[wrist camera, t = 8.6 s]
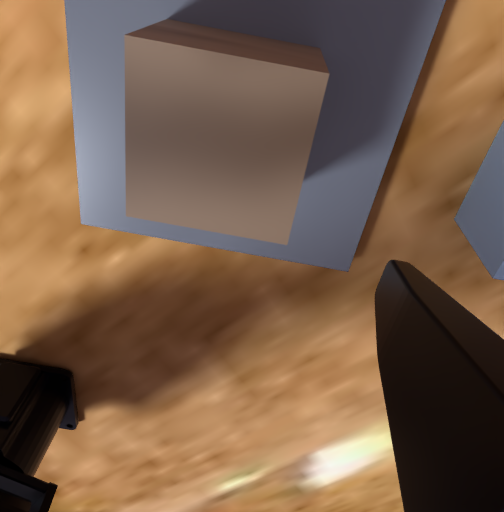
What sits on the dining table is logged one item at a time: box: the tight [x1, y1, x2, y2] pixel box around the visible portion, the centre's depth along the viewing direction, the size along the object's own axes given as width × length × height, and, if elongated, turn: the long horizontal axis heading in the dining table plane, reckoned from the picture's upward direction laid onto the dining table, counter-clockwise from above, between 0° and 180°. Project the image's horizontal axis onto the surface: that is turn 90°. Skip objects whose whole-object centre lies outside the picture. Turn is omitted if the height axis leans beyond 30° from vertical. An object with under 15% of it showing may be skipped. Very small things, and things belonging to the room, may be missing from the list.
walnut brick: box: [124, 19, 329, 245], centre depth 16 cm, size 6×6×5 cm
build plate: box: [64, 0, 446, 272], centre depth 19 cm, size 14×14×1 cm
